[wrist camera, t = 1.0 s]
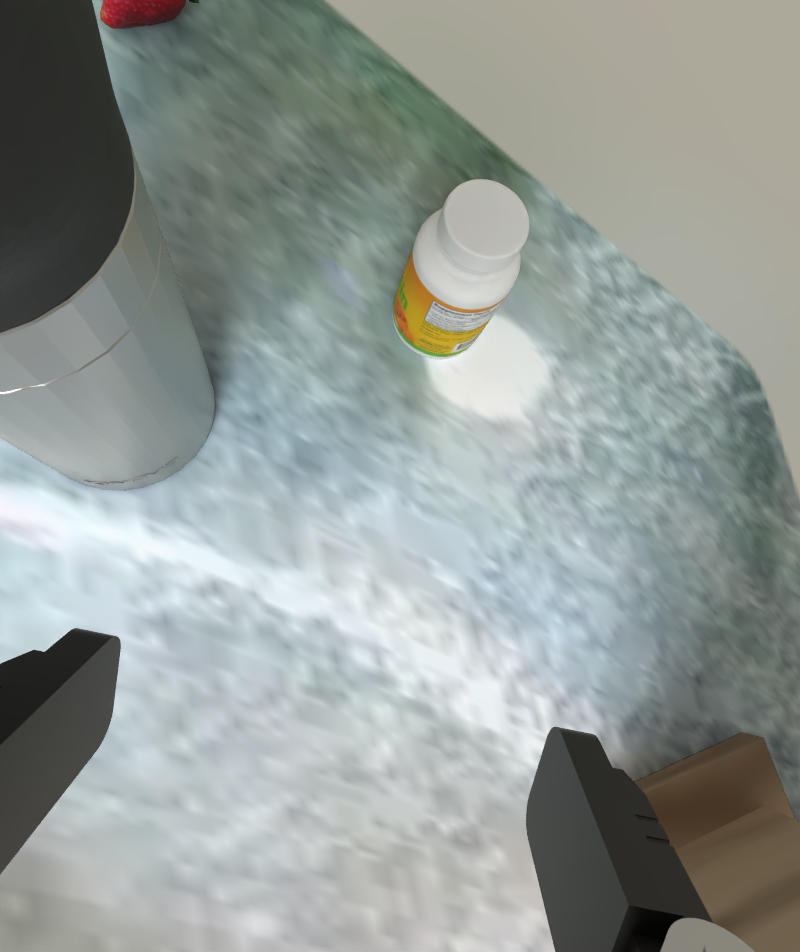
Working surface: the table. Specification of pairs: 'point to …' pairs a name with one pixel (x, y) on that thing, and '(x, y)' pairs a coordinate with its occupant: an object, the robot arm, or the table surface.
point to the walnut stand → (735, 839)
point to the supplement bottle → (460, 269)
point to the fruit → (139, 12)
